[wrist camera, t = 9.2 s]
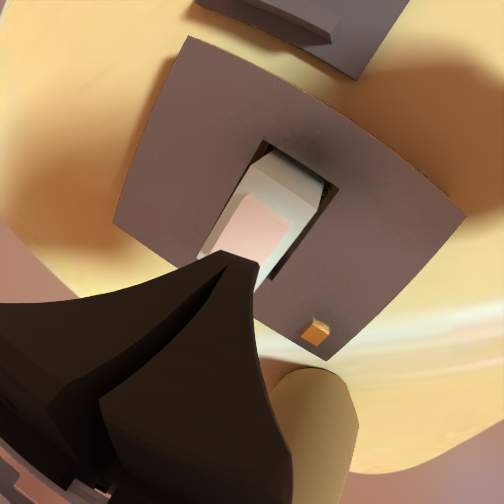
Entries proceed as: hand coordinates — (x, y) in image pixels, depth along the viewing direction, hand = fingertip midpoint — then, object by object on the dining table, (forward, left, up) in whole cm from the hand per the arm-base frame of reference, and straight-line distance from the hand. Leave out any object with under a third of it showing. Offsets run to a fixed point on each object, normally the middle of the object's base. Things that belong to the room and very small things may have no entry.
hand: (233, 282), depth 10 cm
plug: (0, 0, -9) cm, 9 cm away
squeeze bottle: (-11, +12, -10) cm, 19 cm away
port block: (0, 0, -9) cm, 9 cm away
